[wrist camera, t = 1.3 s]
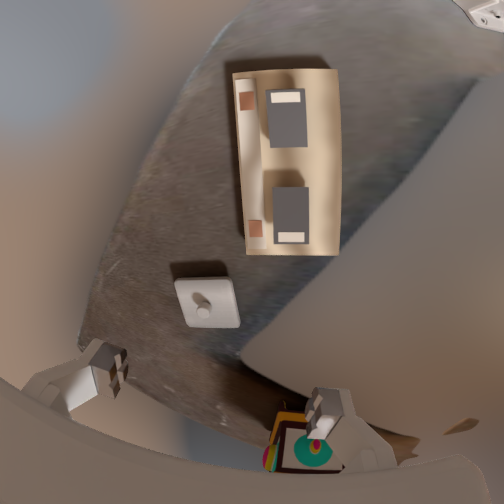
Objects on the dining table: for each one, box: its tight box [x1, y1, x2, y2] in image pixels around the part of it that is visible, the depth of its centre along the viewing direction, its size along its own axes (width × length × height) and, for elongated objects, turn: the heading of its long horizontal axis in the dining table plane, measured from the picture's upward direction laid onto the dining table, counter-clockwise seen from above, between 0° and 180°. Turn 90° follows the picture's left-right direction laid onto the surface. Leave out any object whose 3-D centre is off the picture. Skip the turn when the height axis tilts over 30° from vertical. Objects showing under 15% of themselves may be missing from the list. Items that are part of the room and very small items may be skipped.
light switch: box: [174, 277, 240, 328], centre depth 47 cm, size 10×10×5 cm
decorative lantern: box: [263, 401, 345, 474], centre depth 48 cm, size 20×20×30 cm
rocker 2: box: [272, 187, 309, 244], centre depth 35 cm, size 4×7×2 cm, turn 4°
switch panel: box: [232, 69, 342, 255], centre depth 36 cm, size 13×25×4 cm, turn 4°
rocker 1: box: [265, 88, 308, 148], centre depth 30 cm, size 4×7×2 cm, turn 4°
